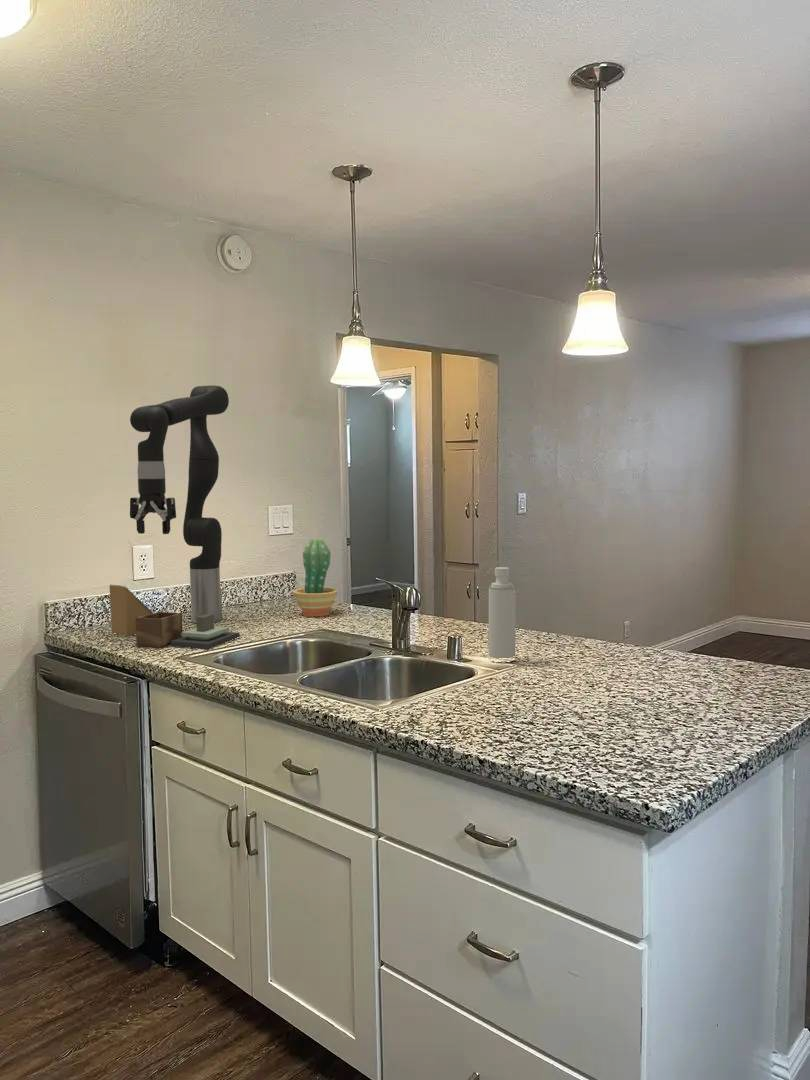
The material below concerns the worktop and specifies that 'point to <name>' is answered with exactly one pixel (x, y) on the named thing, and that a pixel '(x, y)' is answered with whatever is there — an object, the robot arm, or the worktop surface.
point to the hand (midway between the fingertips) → (153, 533)
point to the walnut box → (158, 629)
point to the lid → (205, 628)
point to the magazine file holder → (125, 610)
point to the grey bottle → (502, 615)
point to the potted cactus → (315, 581)
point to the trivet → (205, 641)
